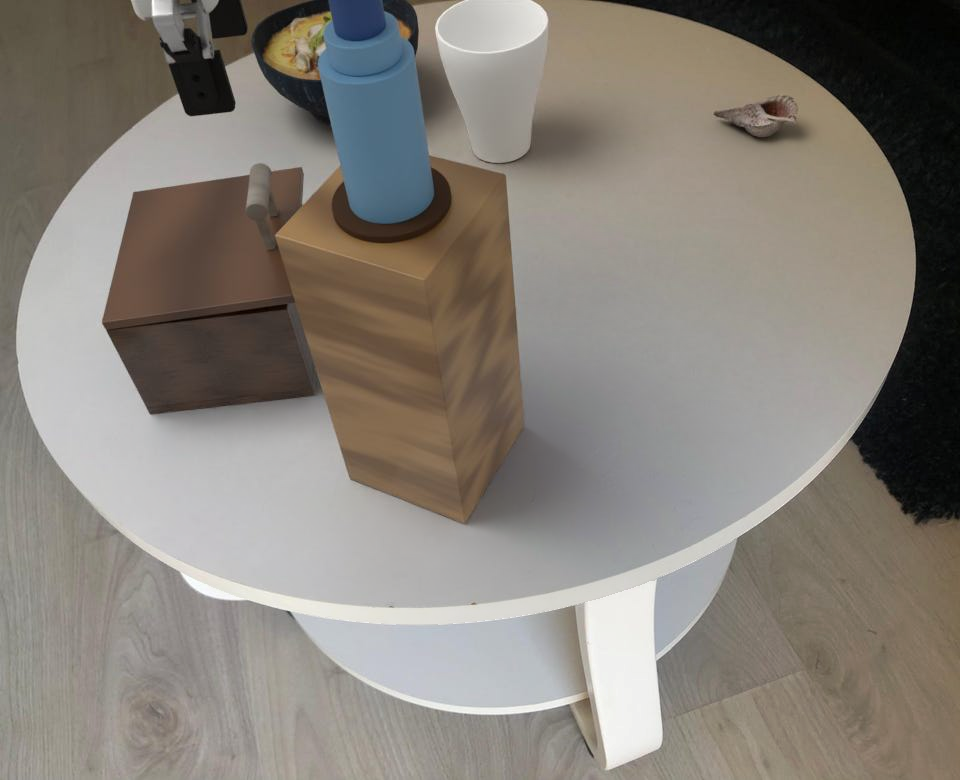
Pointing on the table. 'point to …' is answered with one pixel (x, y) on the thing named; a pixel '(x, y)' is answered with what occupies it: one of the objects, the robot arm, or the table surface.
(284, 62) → the bowl
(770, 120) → the seashell
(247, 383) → the brown wooden box
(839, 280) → the table surface
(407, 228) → the coaster
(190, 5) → the robot arm
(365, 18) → the bottle
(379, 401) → the stand
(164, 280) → the wooden box lid
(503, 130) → the cup
